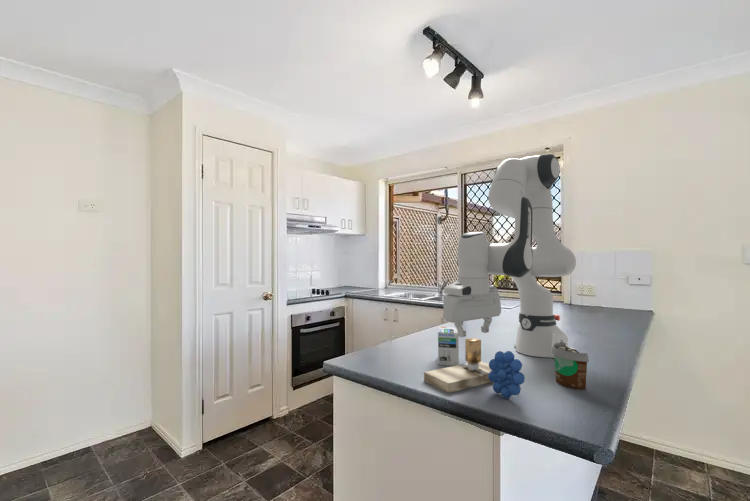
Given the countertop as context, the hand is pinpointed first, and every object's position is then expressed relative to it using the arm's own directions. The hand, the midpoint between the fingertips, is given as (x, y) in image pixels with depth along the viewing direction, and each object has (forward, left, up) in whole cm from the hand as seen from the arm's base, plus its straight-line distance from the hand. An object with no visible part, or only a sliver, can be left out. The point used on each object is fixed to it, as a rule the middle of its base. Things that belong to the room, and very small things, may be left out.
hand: (473, 334), depth 102 cm
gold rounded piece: (0, 0, -13) cm, 13 cm away
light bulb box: (-5, -16, -13) cm, 21 cm away
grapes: (+3, +15, -13) cm, 20 cm away
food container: (-19, +16, -13) cm, 28 cm away
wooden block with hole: (+3, 0, -13) cm, 13 cm away
